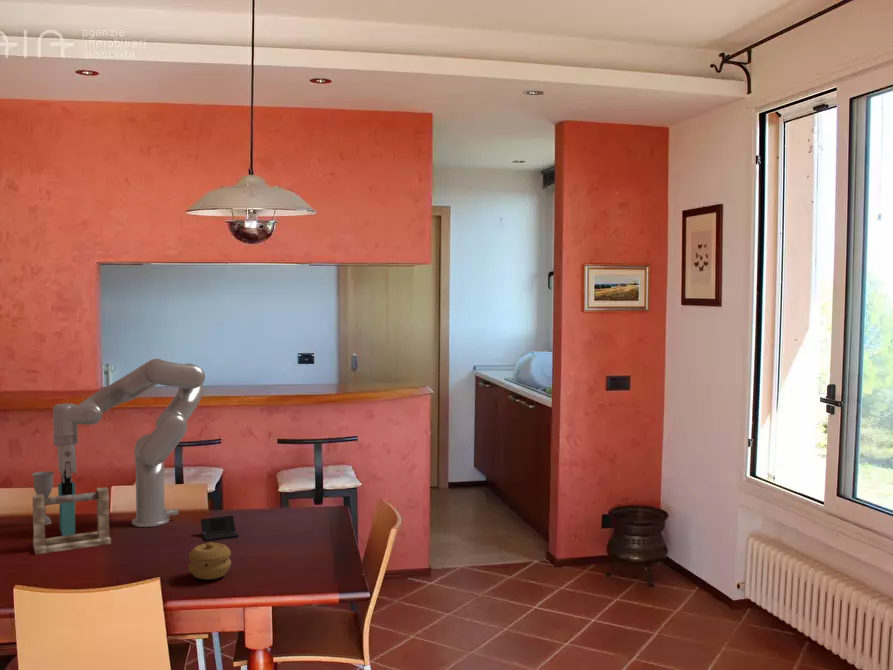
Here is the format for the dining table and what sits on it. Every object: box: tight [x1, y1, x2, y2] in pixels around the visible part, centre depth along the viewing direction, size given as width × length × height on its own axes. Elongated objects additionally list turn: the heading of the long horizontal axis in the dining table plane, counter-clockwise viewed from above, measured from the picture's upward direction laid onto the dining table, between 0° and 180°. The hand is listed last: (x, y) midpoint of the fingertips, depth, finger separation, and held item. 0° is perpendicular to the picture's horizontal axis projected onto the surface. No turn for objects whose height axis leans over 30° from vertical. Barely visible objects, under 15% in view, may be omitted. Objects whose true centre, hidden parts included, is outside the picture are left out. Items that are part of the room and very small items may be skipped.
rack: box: [32, 486, 112, 556], centre depth 259 cm, size 22×12×17 cm, turn 121°
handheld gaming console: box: [200, 515, 240, 543], centre depth 269 cm, size 12×7×10 cm
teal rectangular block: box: [57, 481, 76, 536], centre depth 272 cm, size 5×9×17 cm, turn 31°
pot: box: [188, 541, 232, 581], centre depth 228 cm, size 12×12×10 cm
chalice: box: [31, 470, 55, 526], centre depth 283 cm, size 7×7×18 cm
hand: (66, 493), depth 272 cm, fingers closed on teal rectangular block
